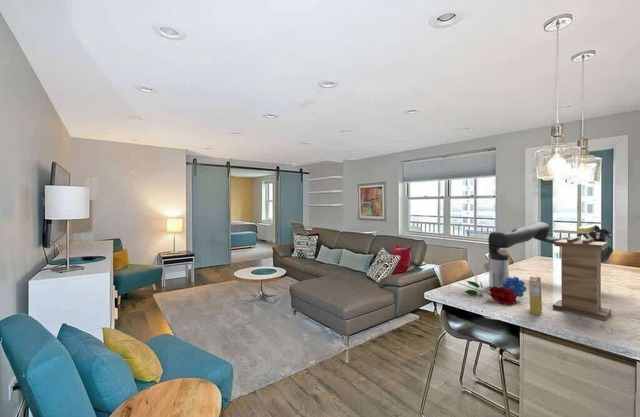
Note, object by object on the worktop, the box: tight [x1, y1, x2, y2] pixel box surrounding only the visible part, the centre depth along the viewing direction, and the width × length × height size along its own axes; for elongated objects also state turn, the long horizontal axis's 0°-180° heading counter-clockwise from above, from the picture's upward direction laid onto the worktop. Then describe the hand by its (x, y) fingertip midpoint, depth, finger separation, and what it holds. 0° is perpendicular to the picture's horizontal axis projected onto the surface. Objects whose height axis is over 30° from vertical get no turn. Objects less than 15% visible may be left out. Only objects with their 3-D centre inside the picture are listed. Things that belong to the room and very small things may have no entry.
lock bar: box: [577, 224, 596, 234], centre depth 140 cm, size 24×3×2 cm, turn 128°
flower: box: [458, 280, 518, 305], centre depth 152 cm, size 9×10×30 cm
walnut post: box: [552, 236, 612, 321], centre depth 131 cm, size 14×18×34 cm
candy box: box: [528, 276, 543, 316], centre depth 132 cm, size 9×4×15 cm, turn 140°
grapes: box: [501, 276, 527, 299], centre depth 150 cm, size 12×7×12 cm, turn 38°
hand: (590, 226), depth 144 cm, fingers closed on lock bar, 3 cm apart
